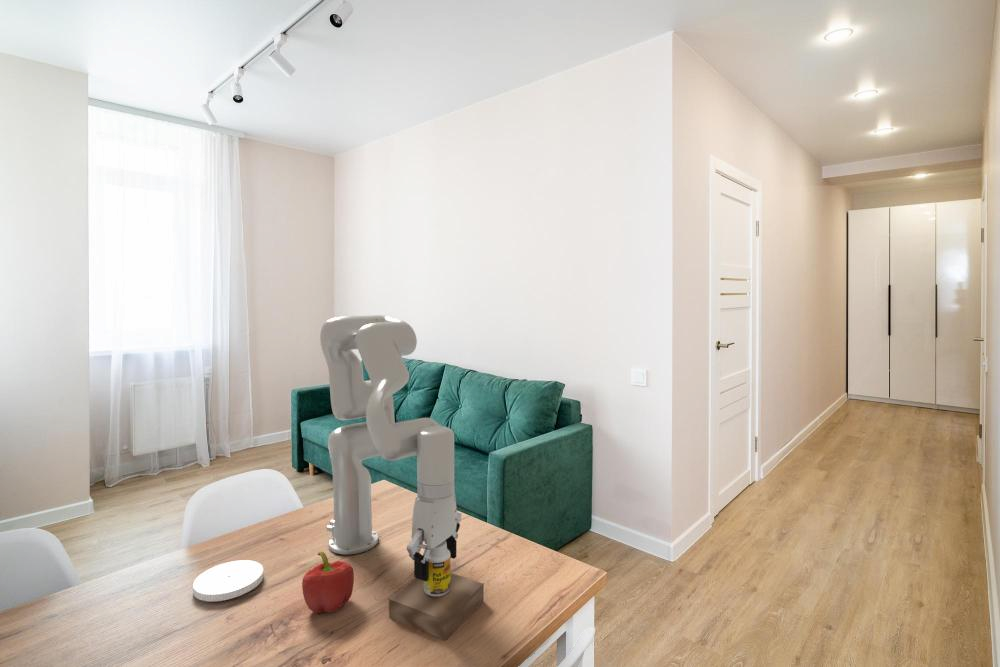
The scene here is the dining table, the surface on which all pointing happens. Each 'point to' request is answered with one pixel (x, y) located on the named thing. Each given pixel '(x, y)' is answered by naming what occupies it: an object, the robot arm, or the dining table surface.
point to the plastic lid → (228, 580)
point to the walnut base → (436, 606)
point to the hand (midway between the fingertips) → (436, 567)
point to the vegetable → (328, 585)
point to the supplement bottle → (438, 571)
